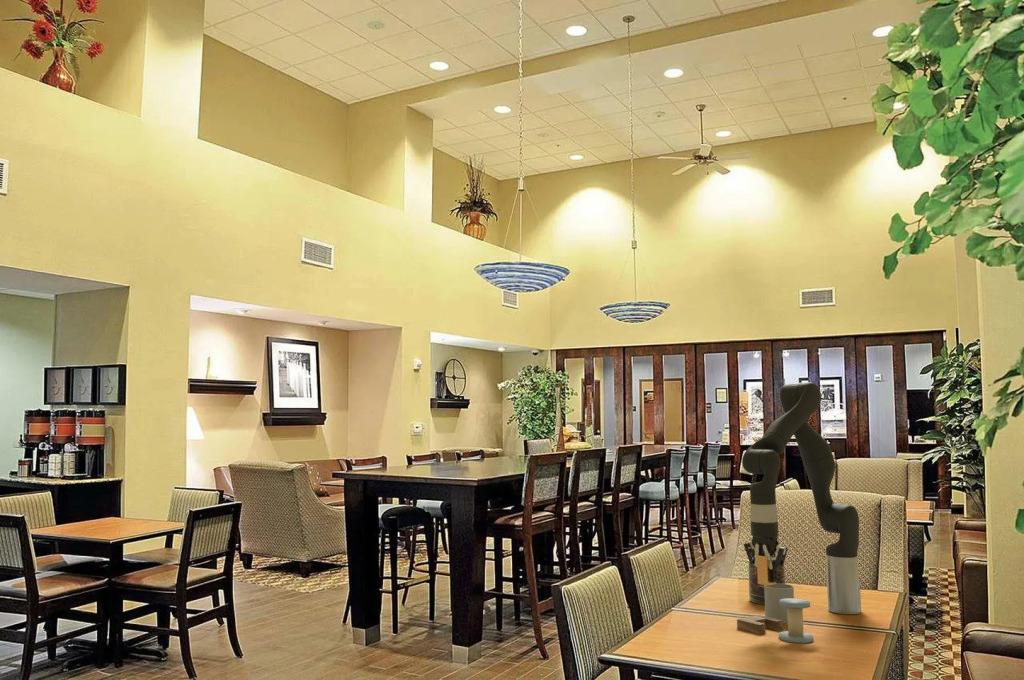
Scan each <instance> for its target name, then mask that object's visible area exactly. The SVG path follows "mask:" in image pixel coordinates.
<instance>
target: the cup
mask: <svg viewBox="0 0 1024 680" xmlns="http://www.w3.org/2000/svg"><path fill="white" fill-rule="evenodd" d="M794 587H795V586H794V585H792V584H787V583H785V584H780V583H776V584H773V585H769V586H767V585H764V590H765V605H764V616H766V617H771V618H775V619H779V620H782V622H783V624H788V617H787V607H784V606H781V605H780V604H779V600H780V599H786V598H794V599H795V593H794V590H795V589H794Z"/></svg>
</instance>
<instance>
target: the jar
mask: <svg viewBox="0 0 1024 680" xmlns="http://www.w3.org/2000/svg"><path fill="white" fill-rule="evenodd" d="M785 570H786V568H785V563H784V564H783V567H780V568H777V580H776V583H780V584H786V571H785ZM748 593H749V594H748V597H749V602H751V603H752V604H758V605H763V606H765V590H764V585H762V584H758V578H757V576H756V566H755V565H754V564H750V562H748Z"/></svg>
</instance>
